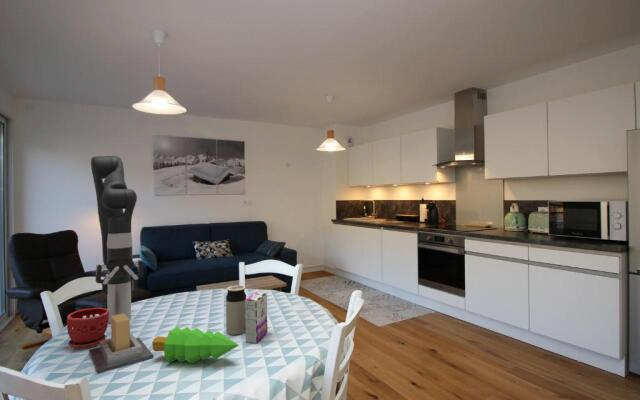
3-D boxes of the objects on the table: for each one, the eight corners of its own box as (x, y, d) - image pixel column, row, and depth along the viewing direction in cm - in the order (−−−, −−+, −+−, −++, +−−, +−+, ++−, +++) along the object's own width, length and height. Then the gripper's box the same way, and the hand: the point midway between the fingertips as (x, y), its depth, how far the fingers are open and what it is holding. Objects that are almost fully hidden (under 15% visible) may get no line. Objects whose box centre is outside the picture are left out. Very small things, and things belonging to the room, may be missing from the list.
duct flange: (88, 352, 119) (88, 341, 119) (138, 340, 129) (138, 329, 129) (97, 373, 104) (97, 361, 104) (153, 357, 114) (153, 346, 114)
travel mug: (250, 329, 139) (249, 286, 139) (238, 336, 131) (237, 290, 132) (235, 326, 142) (234, 284, 142) (222, 333, 135) (221, 288, 135)
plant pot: (63, 354, 117) (63, 320, 117) (71, 341, 129) (70, 310, 129) (107, 347, 123) (107, 314, 123) (110, 334, 135) (110, 305, 135)
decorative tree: (160, 319, 117) (241, 319, 112) (169, 344, 121) (248, 346, 116) (140, 344, 107) (228, 346, 102) (151, 370, 111) (236, 373, 106)
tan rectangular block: (116, 358, 112) (116, 322, 112) (111, 349, 118) (111, 316, 119) (129, 354, 114) (129, 319, 114) (124, 346, 121) (123, 313, 121)
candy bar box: (256, 331, 136) (255, 291, 137) (267, 332, 135) (267, 292, 136) (244, 343, 125) (244, 299, 126) (257, 344, 124) (256, 299, 125)
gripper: (97, 249, 109) (97, 298, 109) (145, 245, 119) (145, 290, 119) (93, 246, 115) (94, 294, 115) (139, 243, 124) (140, 286, 124)
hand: (120, 292), depth 117 cm, fingers open, 8 cm apart
